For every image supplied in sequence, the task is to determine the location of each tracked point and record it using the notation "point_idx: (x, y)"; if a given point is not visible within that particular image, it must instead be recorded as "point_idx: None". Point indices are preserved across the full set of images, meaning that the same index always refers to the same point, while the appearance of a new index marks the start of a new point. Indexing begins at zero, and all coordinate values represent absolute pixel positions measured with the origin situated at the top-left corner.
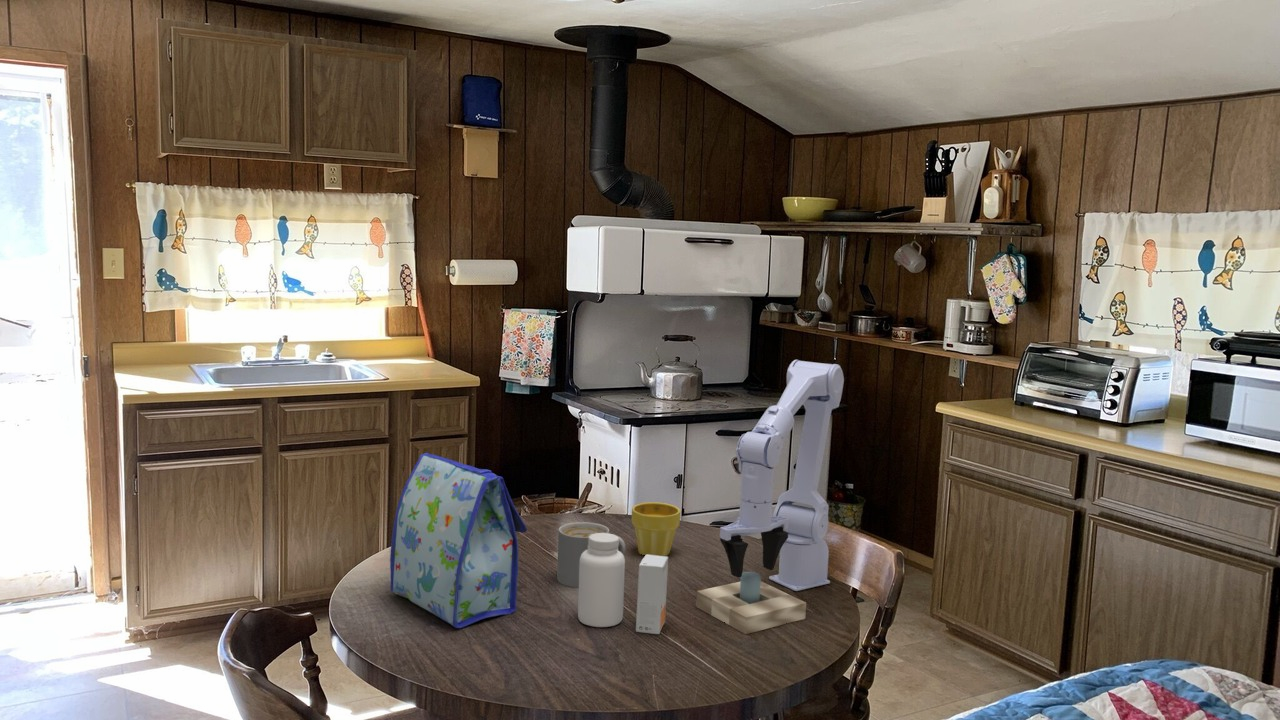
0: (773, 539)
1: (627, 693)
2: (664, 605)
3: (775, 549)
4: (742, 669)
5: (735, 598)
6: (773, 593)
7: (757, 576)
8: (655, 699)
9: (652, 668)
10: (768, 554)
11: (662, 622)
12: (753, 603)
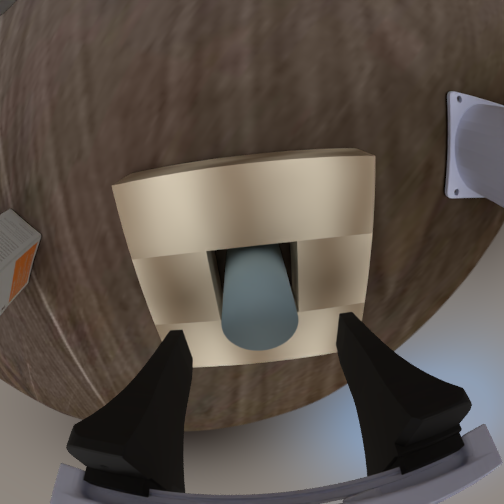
0: (372, 448)
1: (11, 374)
2: (12, 278)
3: (359, 421)
4: None
5: (202, 279)
6: (335, 284)
7: (273, 340)
8: (34, 392)
9: (25, 354)
10: (356, 372)
11: (28, 267)
12: None
